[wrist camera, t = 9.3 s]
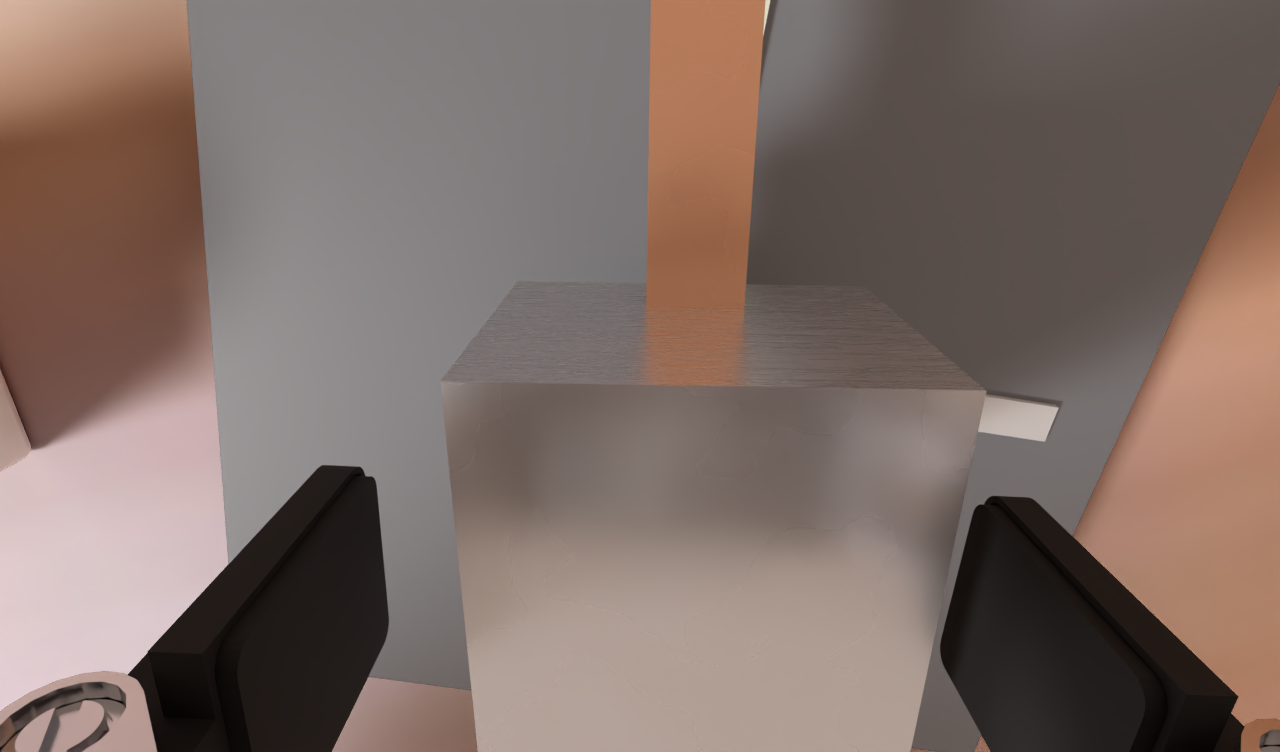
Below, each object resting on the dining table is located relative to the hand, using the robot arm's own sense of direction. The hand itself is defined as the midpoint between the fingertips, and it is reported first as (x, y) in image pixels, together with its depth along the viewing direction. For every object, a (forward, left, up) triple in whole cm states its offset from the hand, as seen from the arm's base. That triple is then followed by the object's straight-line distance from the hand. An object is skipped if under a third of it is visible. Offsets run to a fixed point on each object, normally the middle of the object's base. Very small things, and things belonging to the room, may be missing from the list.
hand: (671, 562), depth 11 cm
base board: (0, 0, -10) cm, 10 cm away
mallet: (+3, 0, -4) cm, 5 cm away
